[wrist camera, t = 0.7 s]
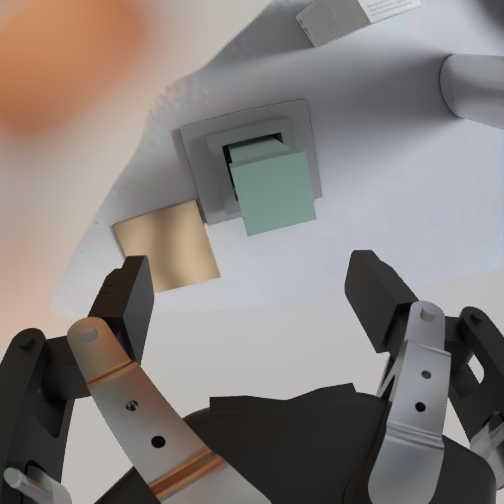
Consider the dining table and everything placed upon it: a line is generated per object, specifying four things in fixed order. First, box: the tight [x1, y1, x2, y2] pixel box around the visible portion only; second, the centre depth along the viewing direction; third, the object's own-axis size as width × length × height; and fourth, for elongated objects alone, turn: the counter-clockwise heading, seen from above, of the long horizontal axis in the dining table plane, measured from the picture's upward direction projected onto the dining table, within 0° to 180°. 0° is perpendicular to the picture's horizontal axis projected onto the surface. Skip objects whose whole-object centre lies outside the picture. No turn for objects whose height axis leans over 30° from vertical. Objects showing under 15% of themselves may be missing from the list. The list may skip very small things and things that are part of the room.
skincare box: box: [295, 0, 421, 47], centre depth 18 cm, size 6×4×12 cm
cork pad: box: [113, 199, 220, 293], centre depth 34 cm, size 10×10×1 cm
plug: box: [228, 136, 316, 236], centre depth 26 cm, size 5×5×12 cm
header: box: [179, 99, 322, 225], centre depth 29 cm, size 13×11×3 cm
